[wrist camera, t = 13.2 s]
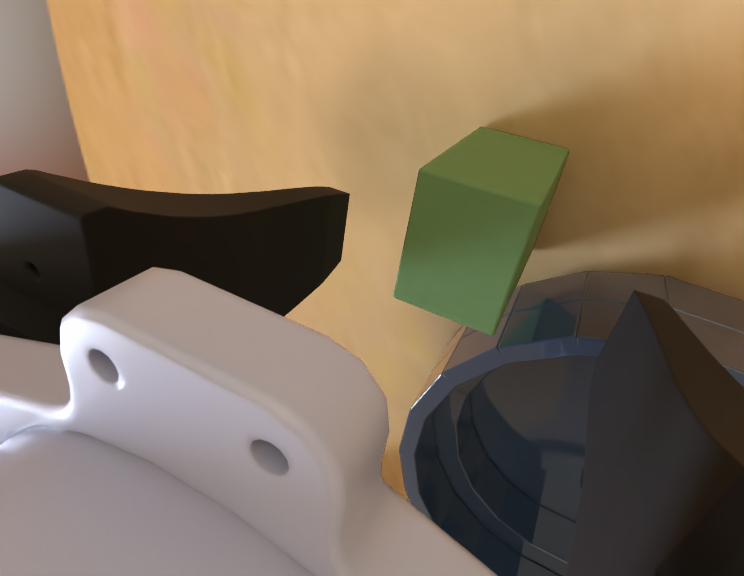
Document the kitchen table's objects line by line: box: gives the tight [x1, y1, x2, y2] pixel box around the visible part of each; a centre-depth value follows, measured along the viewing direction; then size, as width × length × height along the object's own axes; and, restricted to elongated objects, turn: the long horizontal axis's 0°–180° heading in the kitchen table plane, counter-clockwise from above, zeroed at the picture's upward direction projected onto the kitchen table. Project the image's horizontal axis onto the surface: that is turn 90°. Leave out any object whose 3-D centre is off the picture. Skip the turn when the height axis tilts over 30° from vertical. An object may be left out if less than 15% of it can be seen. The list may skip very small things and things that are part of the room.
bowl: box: [399, 271, 744, 576], centre depth 16 cm, size 13×13×4 cm
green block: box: [394, 127, 569, 336], centre depth 13 cm, size 4×3×6 cm
